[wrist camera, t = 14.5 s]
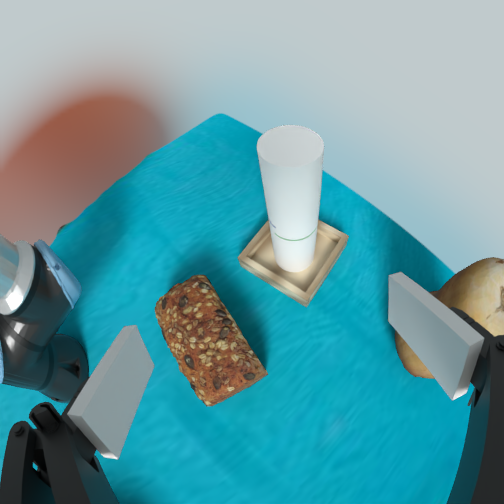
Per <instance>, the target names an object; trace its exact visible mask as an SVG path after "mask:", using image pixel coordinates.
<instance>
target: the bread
mask: <svg viewBox="0 0 504 504" xmlns="http://www.w3.org/2000/svg"><path fill="white" fill-rule="evenodd" d="M155 312H156V318H157V319H158V324H159V325H160V327H161V329H162V334H163V337H164V339H165V341H166V342H167V345H168V348H170V350H171V352H172V353H173V356H174V357H175V358H176V360H177V362H178V364H179V370H180V372H182V373H183V374H184V375H185V376H186V377H187V379H188V380H189V382H190V385H191V388H192V389H193V390H194V391H195V394H196V395H197V397H198V398H199V399H200V400H202V401H203V402H204V404H205V405H206V407H207V406H213V405H215V404H217V403H220V402H222V401H224V400H225V399H227V398H229V397H231V396H233V395H234V394H236V393H239V392H240V391H242V390H244V389H245V388H248V387H250V386H251V385H253V384H254V383H256V382H257V381H259V380H260V379H262V378H263V377H264V376H266V375H268V373H267V371H266V370H265V368H264V367H263V365H262V364H261V362H260V361H259V359H258V357H257V356H256V354H255V353H254V352H253V350H252V349H251V348H250V346H249V344H248V342H247V340H246V339H245V338H244V336H243V335H242V332H241V330H240V329H239V327H238V325H237V324H236V322H235V320H234V319H233V318H232V317H231V314H230V313H229V312H228V310H227V309H226V307H225V305H224V304H223V303H222V302H221V300H220V298H219V296H218V294H217V293H216V291H215V290H214V287H213V286H212V285H211V283H210V281H209V279H208V278H207V277H206V276H205V275H195V276H192V277H191V278H190V279H188V280H186V281H185V282H184V283H181V284H179V283H178V284H176V285H175V286H173V287H172V288H171V289H170V290H169V291H168V293H166V294H165V295H164V296H162V297H160V298H159V301H157V303H156V307H155Z"/></svg>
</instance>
